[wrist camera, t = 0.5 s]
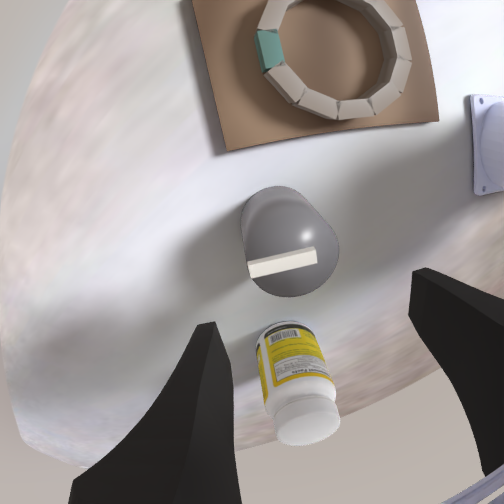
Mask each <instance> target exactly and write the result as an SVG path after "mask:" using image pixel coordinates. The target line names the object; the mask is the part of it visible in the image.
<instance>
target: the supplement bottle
mask: <svg viewBox="0 0 504 504" xmlns="http://www.w3.org/2000/svg"><path fill="white" fill-rule="evenodd" d="M256 356H257V362H258V368H259V374H260V380H261V386H262V392H263V398H264V405H265V409H266V412H267V414H268V415H269V416H270V417H271V418H272V419H273V421H274V427H275V432H276V436H277V439H278V440H279V441H280V442H282V443H284V444H286V445H293V446H302V445H308V444H313V443H316V442H318V441H321V440H323V439H325V438H327V437H329V436H330V435H332V434H333V433H334V432H335V431H336V430H337V429H338V427H339V425H340V417H339V414H338V410H337V406H336V404H335V403H334V401H335V398H336V390H335V386H334V383H333V381H332V378H331V376H330V373H329V371H328V368H327V366H326V363H325V360H324V358H323V355H322V353H321V350H320V348H319V345H318V343H317V340H316V338H315V335H314V333H313V332H312V330H311V329H310V328H309V327H308V326H306V325H304V324H302V323H299V322H293V321H287V322H281V323H277V324H275V325H273V326H271V327H269V328H268V329H266V330H265V331H264V332H263V333H262V334H261V335H260V337H259V339H258V340H257V343H256Z"/></svg>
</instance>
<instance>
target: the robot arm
mask: <svg viewBox="0 0 504 504" xmlns="http://www.w3.org/2000/svg"><path fill="white" fill-rule="evenodd" d="M479 99H480V102H479ZM470 102H471V112H472V124H473V141H474V193H475V194H476V195H479V196H480V195H485V194H489V193H494V192H499V191H503V190H504V97H500V96H490V95H479V94H472V95H471V97H470ZM482 188H483V189H482ZM408 316H409V317H410V319H411V321H412V323H413V325H414V327H415V329H416V331H417V333H418V334H419V336H420V338H421V339H422V341H423V342H424V343H425V345H426V346H427V348H428V349H429V351H430V352H431V353H432V355H433V356H434V358H435V359H436V360H437V362H438V363H439V365H440V366H441V368H442V369H443V371H444V372H445V373H446V375H447V376H448V378H449V379H450V381H451V383H452V385H453V387H454V389H455V391H456V392H457V395H458V397H459V399H460V401H461V403H462V406H463V408H464V410H465V413H466V415H467V418H468V420H469V423H470V425H471V429H472V431H473V435H474V438H475V441H476V444H477V448H478V452H479V457H480V460H481V466H482V471H483V473H484V475H485V478H483V479H482V480H480V481H479V482H477V483H475V484H474V485H472V486H470V487H469V488H467V489H466V490H464V491H462V492H460V493H459V494H457V495H455V496H453V497H452V498H450V499H448V500H446V501H444V502H442V503H440V504H477V503H478V502H480V501H481V500H483V499H484V498H486V497H487V496H489V495H490V494H492V493H493V492H495V491H496V490H497V489H499V488H500V487H502V486H503V485H504V299H501V298H498V297H496V296H493V295H491V294H488V293H486V292H483V291H481V290H478V289H476V288H474V287H471V286H469V285H467V284H465V283H462V282H460V281H458V280H456V279H453V278H451V277H449V276H447V275H444V274H442V273H440V272H437V271H435V270H432V269H429V268H426V267H425V268H422V269H419V270H416V271H412V284H411V294H410V304H409V313H408ZM68 504H242V501H241V496H240V489H239V483H238V476H237V469H236V461H235V454H234V402H233V380H232V372H231V364H230V360H229V358H228V355H227V353H226V350H225V347H224V345H223V342H222V339H221V336H220V334H219V331H218V328H217V325H216V323H215V322H210V323H205V324H199V325H197V327H196V328H195V330H194V332H193V334H192V337H191V339H190V341H189V343H188V345H187V347H186V349H185V351H184V353H183V355H182V357H181V359H180V360H179V362H178V364H177V366H176V368H175V370H174V371H173V373H172V375H171V377H170V378H169V380H168V381H167V383H166V385H165V386H164V388H163V390H162V391H161V393H160V394H159V396H158V397H157V399H156V400H155V402H154V403H153V404H152V406H151V407H150V408H149V410H148V411H147V412H146V414H145V415H144V416H143V418H142V419H141V420H140V421H139V422H138V423H137V425H136V426H135V427H134V428H133V429H132V430H131V431H130V432H129V433H128V435H127V436H126V437H125V438H124V439H123V440H122V441H121V442H120V443H119V444H118V445H117V446H116V447H115V448H114V449H112V450H111V451H110V452H109V453H108V454H107V455H106V456H105V457H103V458H102V459H101V460H100V461H99V462H97V463H96V464H95V465H93V466H92V467H91V468H89V469H88V470H87V471H85V472H84V473H83V474H81V475H80V476H78V477H77V478H75V479H74V480H73V483H72V487H71V492H70V497H69V502H68ZM488 504H504V493H502V494H501V495H499V496H498V497H497V498H495V499H494V500H492V501H491V502H490V503H488Z"/></svg>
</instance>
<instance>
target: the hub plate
mask: <svg viewBox="0 0 504 504" xmlns="http://www.w3.org/2000/svg"><path fill="white" fill-rule="evenodd" d="M192 3H193V8H194V12H195V16H196V20H197V25H198V29H199V33H200V38H201V42H202V46H203V51H204V55H205V59H206V63H207V68H208V72H209V76H210V81H211V85H212V89H213V93H214V98H215V102H216V106H217V111H218V115H219V119H220V123H221V128H222V132H223V136H224V141H225V145H226V149H227V151H231V150H235V149H240V148H244V147H249V146H254V145H259V144H263V143H268V142H274V141H279V140H284V139H290V138H295V137H301V136H307V135H313V134H319V133H326V132H333V131H340V130H348V129H355V128H364V127H373V126H383V125H393V124H405V123H420V122H438V121H439V113H438V104H437V97H436V89H435V83H434V77H433V71H432V65H431V60H430V55H429V50H428V46H427V41H426V37H425V33H424V29H423V25H422V21H421V18H420V14H419V10H418V7H417V4H416V0H192Z"/></svg>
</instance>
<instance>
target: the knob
mask: <svg viewBox="0 0 504 504" xmlns="http://www.w3.org/2000/svg"><path fill="white" fill-rule="evenodd" d="M241 230H242V236H243V243H244V249H245V255H246V261H247V267H248V271H249V274H250V276H251V278H252V279H253V281H254V282H255V283H256V284H257V285H258V286H259V287H260V288H261V289H262V290H264V291H266V292H267V293H270V294H272V295H275V296H279V297H297V296H301V295H305V294H307V293H310V292H312V291H314V290H315V289H317V288H318V287H320V286H321V285H322V284H323V283H324V282H325V281H326V280H327V279H328V278H329V277H330V275H331V274H332V272H333V271H334V269H335V267H336V264H337V261H338V256H339V245H338V240H337V237H336V235H335V233H334V231H333V230H332V228H331V227H330V226H329V224H328V223H327V222H326V221H325V220H324V219H323V218H322V217H321V215H320V214H319V213H318V212H317V211H316V210H315V209H314V208H313V207H312V205H311V204H310V203H309V202H308V201H307V200H306V199H305V198H304V197H303V196H302V195H301V194H300V193H299V192H297V191H295V190H294V189H291V188H288V187H283V186H274V187H268V188H265V189H263V190H261V191H259V192H257V193H256V194H254V195H253V196H252V197H251V198H250V199H249V200H248V202H247V203H246V205H245V206H244V209H243V211H242V215H241Z"/></svg>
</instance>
